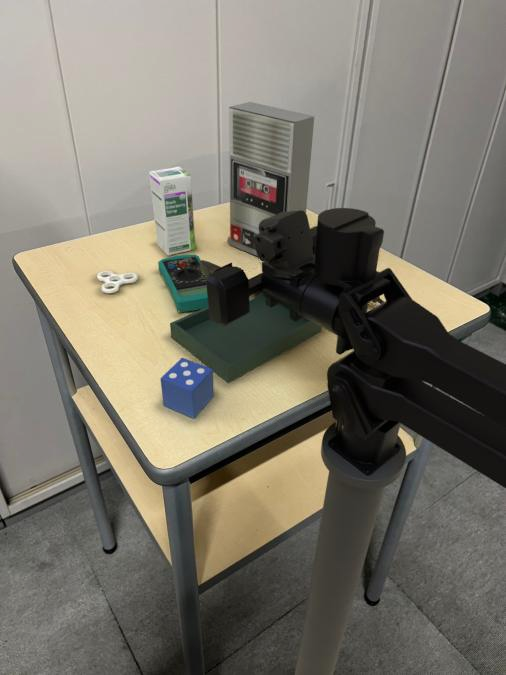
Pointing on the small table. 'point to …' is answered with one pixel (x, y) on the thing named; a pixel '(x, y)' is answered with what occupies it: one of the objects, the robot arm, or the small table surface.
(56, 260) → the small table surface
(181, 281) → the digital multimeter
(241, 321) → the tray
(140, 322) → the small table surface
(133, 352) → the small table surface
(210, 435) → the small table surface
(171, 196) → the syrup box
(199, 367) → the die
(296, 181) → the cassette tape recorder
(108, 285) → the fidget spinner
